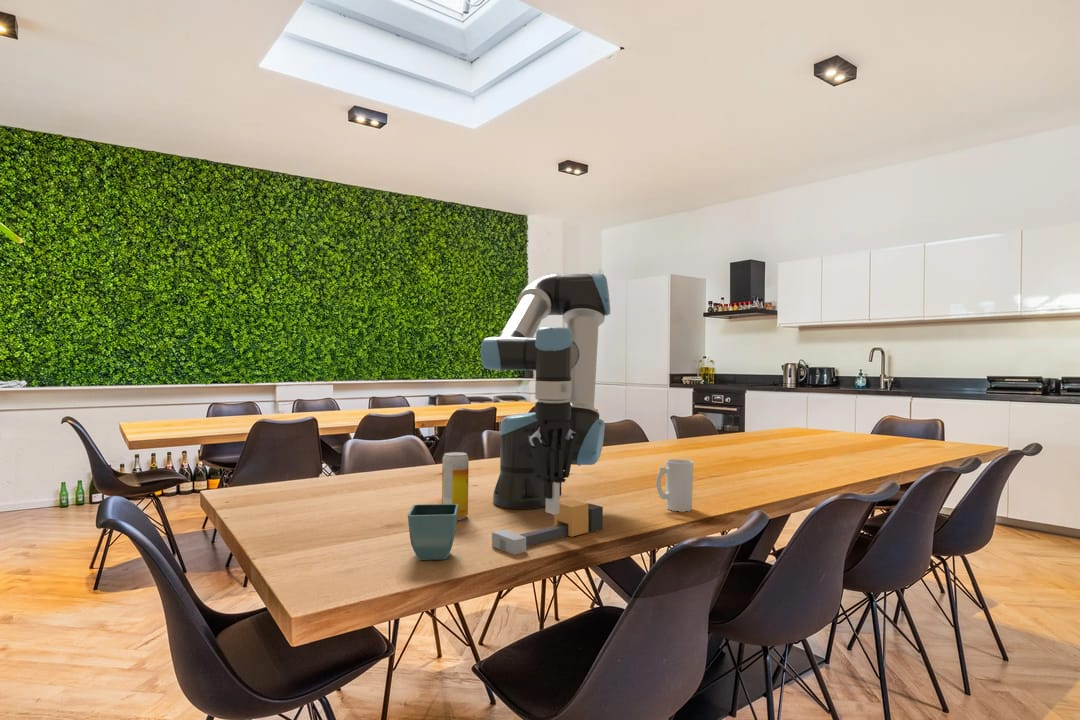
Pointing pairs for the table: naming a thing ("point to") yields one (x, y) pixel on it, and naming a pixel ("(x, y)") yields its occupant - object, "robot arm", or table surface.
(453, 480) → the beer can
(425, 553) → the flower pot
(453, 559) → the table surface
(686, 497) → the mug
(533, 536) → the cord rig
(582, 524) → the sleeve
